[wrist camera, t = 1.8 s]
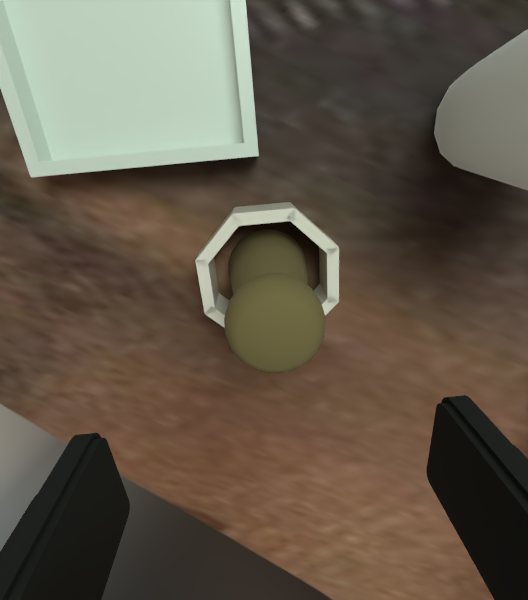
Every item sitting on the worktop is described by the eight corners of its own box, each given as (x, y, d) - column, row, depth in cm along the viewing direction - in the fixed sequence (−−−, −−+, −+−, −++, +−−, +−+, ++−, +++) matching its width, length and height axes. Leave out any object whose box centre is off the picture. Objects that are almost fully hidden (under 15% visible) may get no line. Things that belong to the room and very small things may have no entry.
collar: (330, 318, 28) (338, 336, 25) (214, 328, 28) (210, 347, 25) (329, 198, 24) (339, 203, 21) (195, 210, 24) (187, 217, 21)
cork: (321, 251, 25) (365, 313, 15) (283, 315, 28) (301, 407, 17) (249, 214, 24) (246, 256, 14) (215, 285, 26) (192, 365, 16)
